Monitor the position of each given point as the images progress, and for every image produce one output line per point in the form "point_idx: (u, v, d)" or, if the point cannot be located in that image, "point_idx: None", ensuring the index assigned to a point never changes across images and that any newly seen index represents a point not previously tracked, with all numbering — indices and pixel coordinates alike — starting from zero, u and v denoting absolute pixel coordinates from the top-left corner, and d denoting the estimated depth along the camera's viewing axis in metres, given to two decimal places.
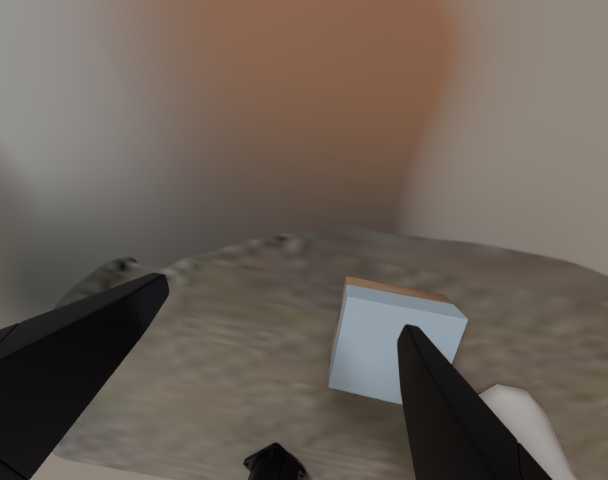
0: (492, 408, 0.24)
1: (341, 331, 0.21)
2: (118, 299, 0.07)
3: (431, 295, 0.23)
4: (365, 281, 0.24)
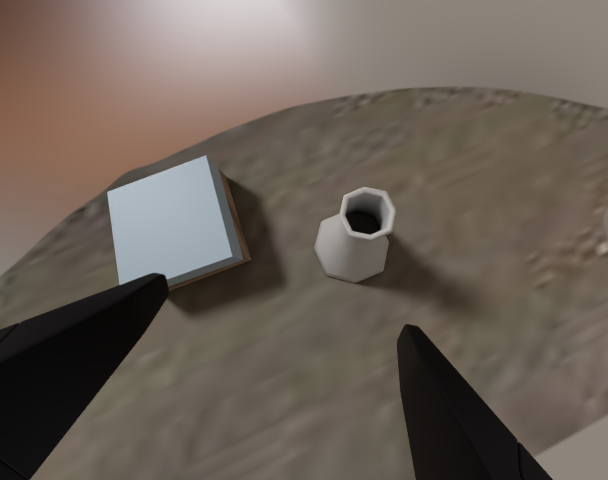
0: (320, 237, 0.21)
1: (112, 225, 0.21)
2: (118, 299, 0.07)
3: None
4: None
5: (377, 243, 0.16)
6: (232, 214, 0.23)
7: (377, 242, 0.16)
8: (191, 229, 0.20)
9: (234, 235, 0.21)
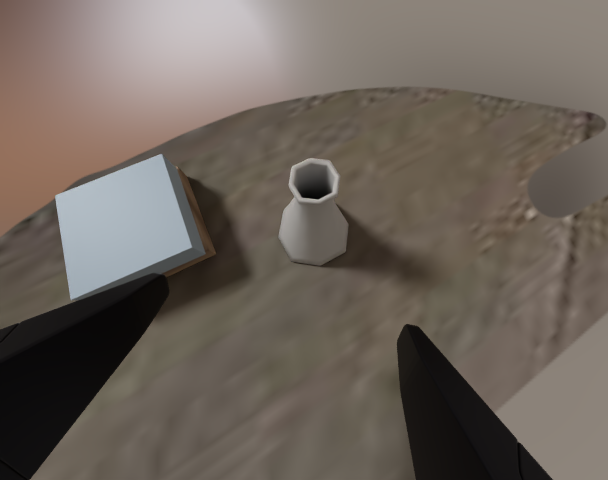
0: (282, 223, 0.22)
1: (61, 228, 0.20)
2: (118, 299, 0.07)
3: None
4: None
5: (331, 215, 0.17)
6: (194, 209, 0.23)
7: (330, 214, 0.17)
8: (148, 225, 0.19)
9: (195, 229, 0.21)
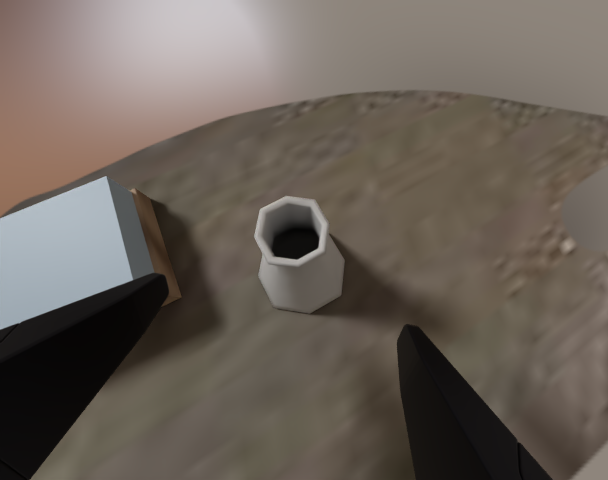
0: (262, 262, 0.18)
1: None
2: (118, 299, 0.07)
3: None
4: None
5: (319, 266, 0.12)
6: (153, 243, 0.18)
7: (319, 265, 0.12)
8: (83, 271, 0.15)
9: (149, 271, 0.17)
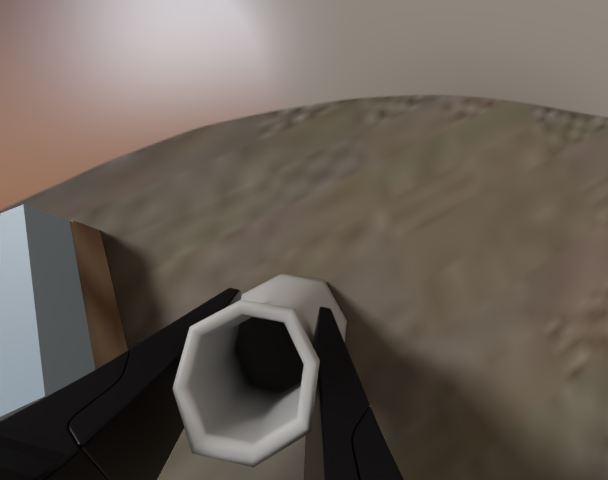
0: None
1: None
2: None
3: None
4: None
5: None
6: (92, 296, 0.14)
7: None
8: None
9: (80, 336, 0.12)
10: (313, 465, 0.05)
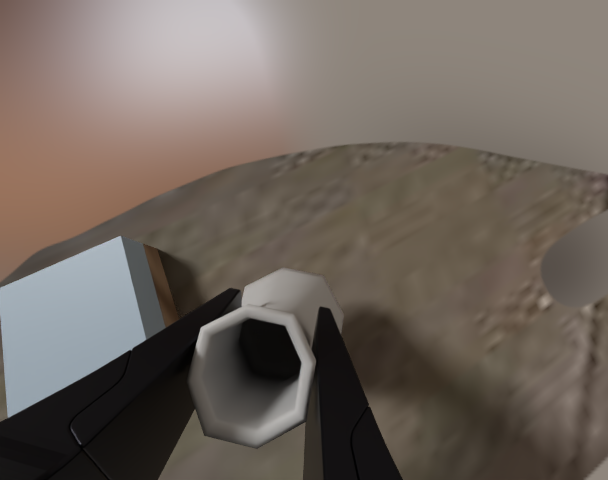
0: None
1: (3, 331, 0.17)
2: (212, 320, 0.07)
3: None
4: None
5: None
6: (161, 297, 0.20)
7: None
8: (102, 327, 0.17)
9: (160, 323, 0.19)
10: (312, 465, 0.05)
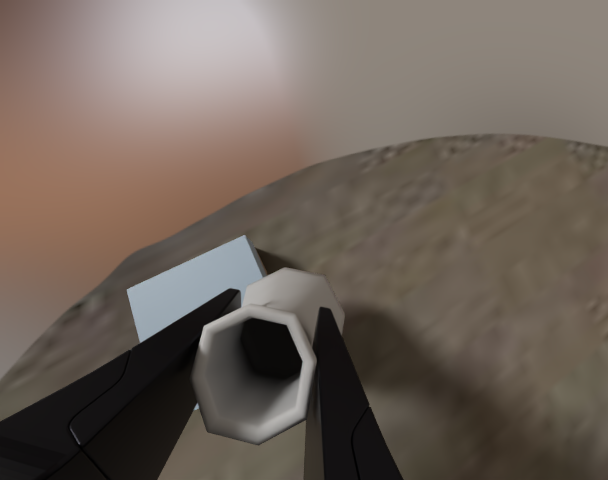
0: None
1: (139, 332, 0.17)
2: (212, 319, 0.07)
3: None
4: None
5: None
6: None
7: None
8: None
9: None
10: (313, 465, 0.05)
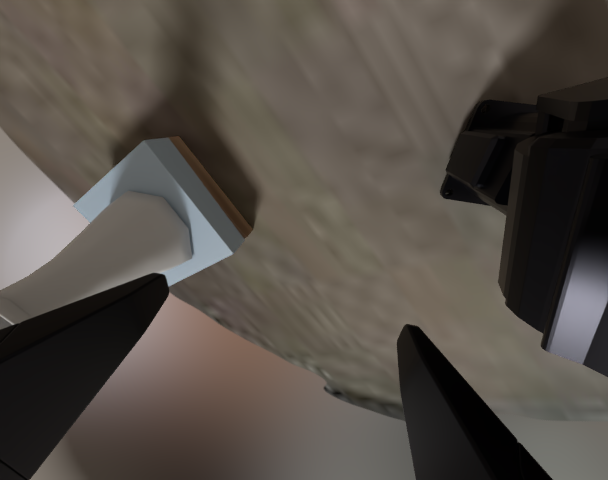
0: None
1: (181, 278, 0.21)
2: (118, 299, 0.07)
3: None
4: None
5: (73, 265, 0.13)
6: None
7: (69, 267, 0.12)
8: None
9: None
10: None
